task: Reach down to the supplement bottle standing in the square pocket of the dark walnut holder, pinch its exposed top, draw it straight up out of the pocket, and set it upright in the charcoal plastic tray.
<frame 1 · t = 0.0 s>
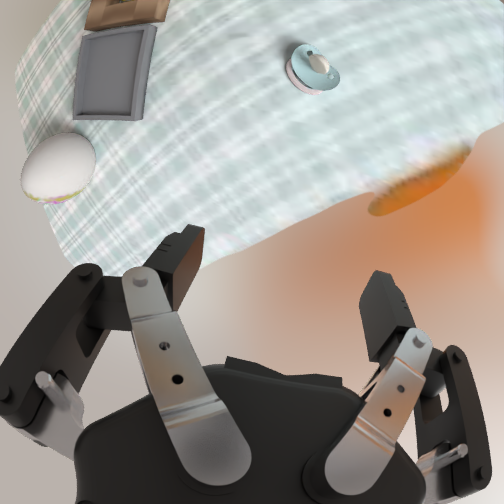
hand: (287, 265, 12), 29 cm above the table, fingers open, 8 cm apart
pacifier: (309, 72, 31), on the table
charcoal tray: (113, 73, 33), on the table
decorative egg: (81, 157, 42), on the table
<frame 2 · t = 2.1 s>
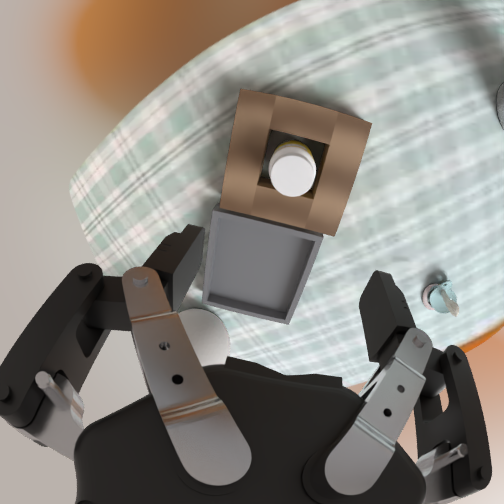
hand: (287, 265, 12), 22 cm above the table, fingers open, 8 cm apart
pacifier: (436, 292, 37), on the table
walnut holder: (292, 158, 31), on the table
supplement bottle: (292, 157, 31), resting in walnut holder
charcoal tray: (257, 264, 39), on the table
decorative egg: (203, 323, 48), on the table
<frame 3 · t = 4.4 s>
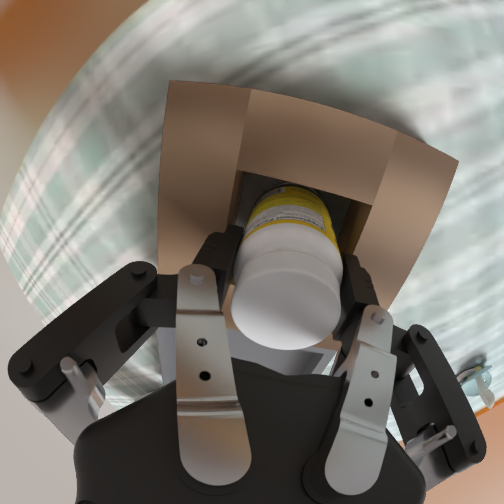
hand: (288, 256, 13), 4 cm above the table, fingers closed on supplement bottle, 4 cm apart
pacifier: (469, 373, 23), on the table
walnut holder: (290, 217, 16), on the table
supplement bottle: (290, 216, 17), resting in walnut holder, touching gripper
charcoal tray: (236, 362, 25), on the table
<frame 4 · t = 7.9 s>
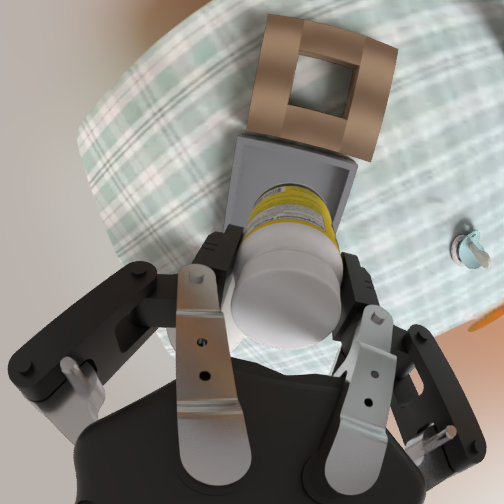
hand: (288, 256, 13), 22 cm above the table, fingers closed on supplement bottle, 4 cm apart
pacifier: (464, 245, 33), on the table
walnut holder: (321, 85, 26), on the table
supplement bottle: (291, 216, 17), point 17 cm above the table, touching gripper
charcoal tray: (284, 204, 35), on the table
decorative egg: (219, 284, 44), on the table
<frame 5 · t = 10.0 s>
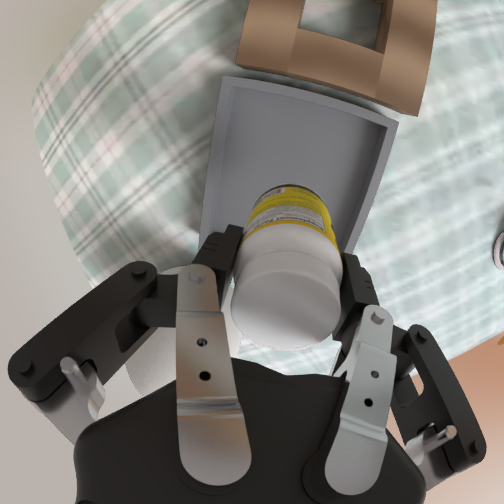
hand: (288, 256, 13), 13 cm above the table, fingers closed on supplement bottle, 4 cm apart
walnut holder: (341, 18, 15), on the table
supplement bottle: (290, 216, 17), point 8 cm above the table, touching gripper
charcoal tray: (291, 179, 23), on the table
decorative egg: (200, 292, 32), on the table
when the fingers open (6 cm above the table, at t = 11.6 s): supplement bottle drops 1 cm, resting on charcoal tray.
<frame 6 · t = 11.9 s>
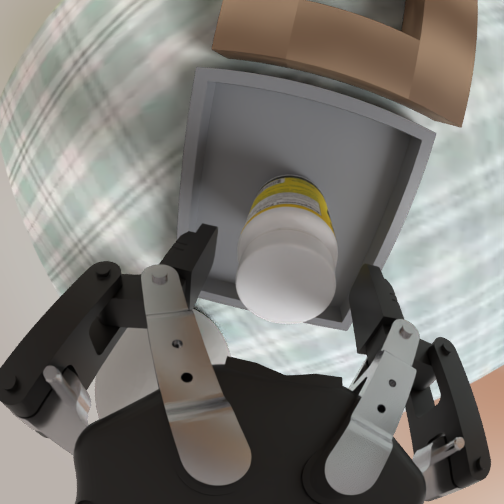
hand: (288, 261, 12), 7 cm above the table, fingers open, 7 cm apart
supplement bottle: (290, 206, 18), point 1 cm above the table, touching charcoal tray
charcoal tray: (291, 205, 18), on the table
decorative egg: (184, 330, 27), on the table
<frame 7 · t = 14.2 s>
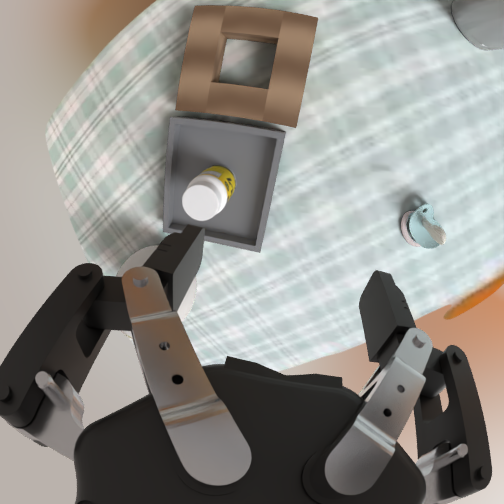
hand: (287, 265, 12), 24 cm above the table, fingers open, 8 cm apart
pacifier: (417, 223, 34), on the table
walnut holder: (248, 63, 27), on the table
supplement bottle: (219, 181, 34), point 1 cm above the table, touching charcoal tray
charcoal tray: (220, 180, 35), on the table
decorative egg: (169, 267, 44), on the table
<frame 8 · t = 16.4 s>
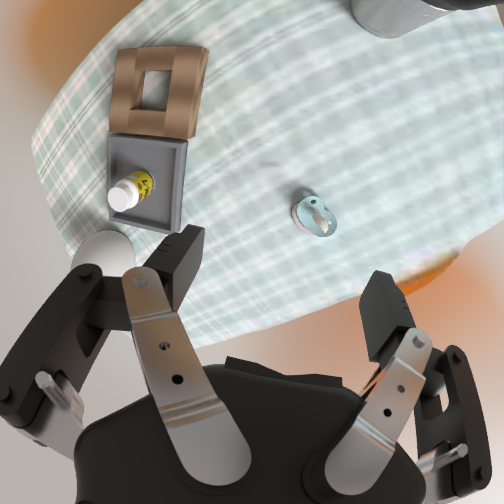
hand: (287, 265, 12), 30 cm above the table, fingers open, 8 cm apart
pacifier: (312, 214, 43), on the table
walnut holder: (160, 90, 35), on the table
supplement bottle: (144, 181, 43), point 1 cm above the table, touching charcoal tray
charcoal tray: (146, 181, 43), on the table
decorative egg: (119, 248, 52), on the table
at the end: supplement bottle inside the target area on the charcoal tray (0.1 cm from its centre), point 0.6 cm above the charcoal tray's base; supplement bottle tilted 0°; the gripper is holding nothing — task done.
